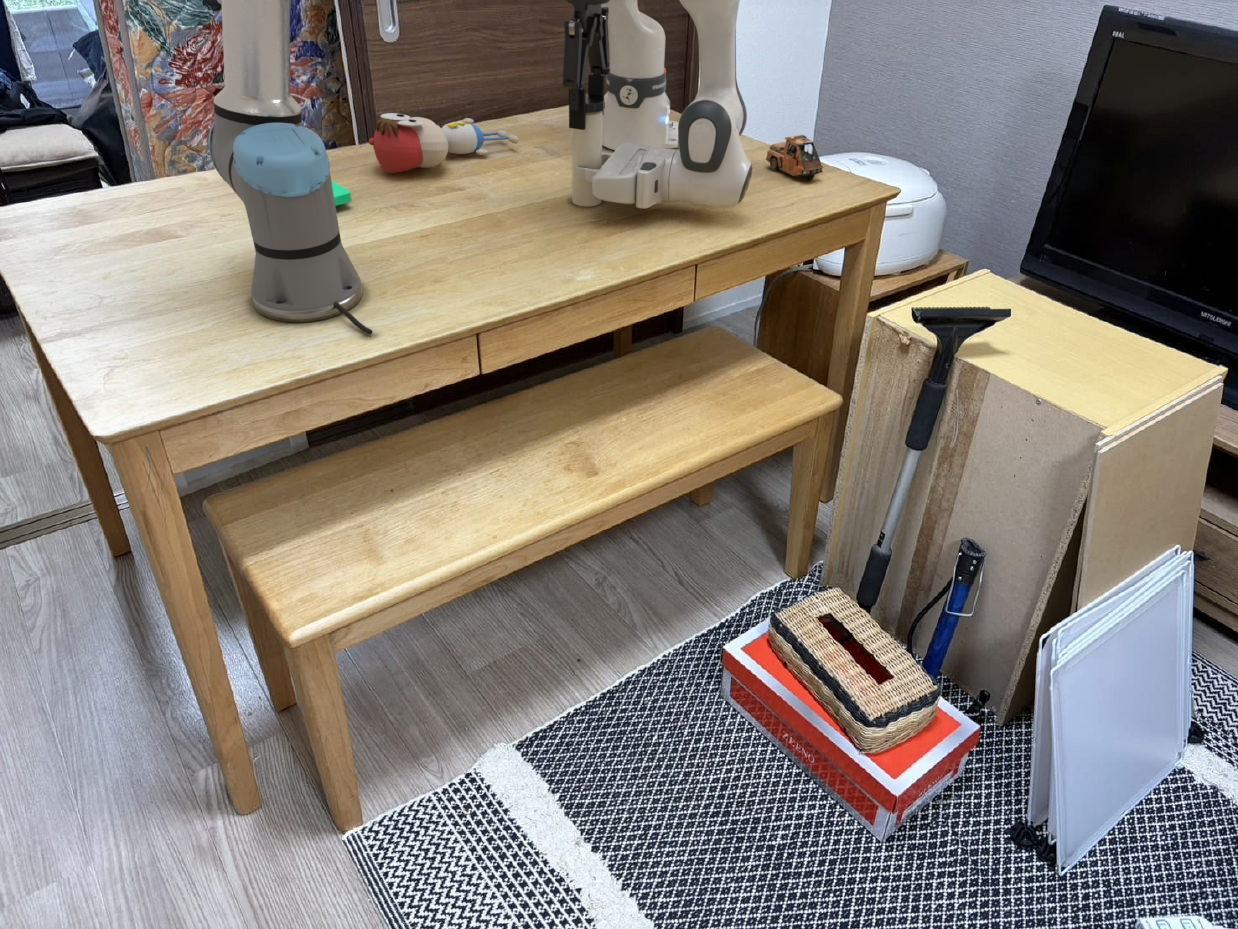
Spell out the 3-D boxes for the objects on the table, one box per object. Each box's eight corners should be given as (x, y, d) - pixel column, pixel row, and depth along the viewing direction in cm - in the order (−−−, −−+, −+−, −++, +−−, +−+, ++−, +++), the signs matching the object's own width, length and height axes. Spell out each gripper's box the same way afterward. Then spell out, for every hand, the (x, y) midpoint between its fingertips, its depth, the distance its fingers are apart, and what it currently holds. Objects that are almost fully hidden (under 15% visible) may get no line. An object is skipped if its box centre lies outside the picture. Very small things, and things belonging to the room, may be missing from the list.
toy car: (782, 160, 188) (786, 126, 183) (827, 178, 180) (833, 142, 176) (760, 167, 184) (764, 131, 180) (805, 184, 177) (810, 148, 173)
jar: (581, 193, 171) (581, 96, 161) (606, 199, 169) (608, 101, 159) (566, 202, 167) (565, 103, 157) (591, 208, 165) (592, 108, 155)
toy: (535, 119, 180) (386, 123, 165) (533, 173, 185) (388, 181, 170) (493, 104, 193) (352, 106, 178) (493, 155, 198) (355, 160, 183)
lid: (596, 115, 155) (597, 105, 154) (563, 110, 157) (563, 101, 156) (609, 105, 160) (610, 96, 159) (577, 101, 161) (577, 91, 160)
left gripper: (589, -38, 155) (588, 102, 168) (538, -18, 139) (542, 135, 153) (631, -34, 153) (627, 107, 166) (585, -13, 137) (584, 141, 151)
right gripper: (671, 138, 168) (598, 130, 170) (644, 175, 152) (564, 166, 155) (669, 172, 172) (597, 164, 174) (642, 212, 156) (564, 202, 158)
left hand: (586, 121), depth 160 cm, fingers open, 8 cm apart
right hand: (581, 165), depth 164 cm, fingers closed on jar, 5 cm apart
